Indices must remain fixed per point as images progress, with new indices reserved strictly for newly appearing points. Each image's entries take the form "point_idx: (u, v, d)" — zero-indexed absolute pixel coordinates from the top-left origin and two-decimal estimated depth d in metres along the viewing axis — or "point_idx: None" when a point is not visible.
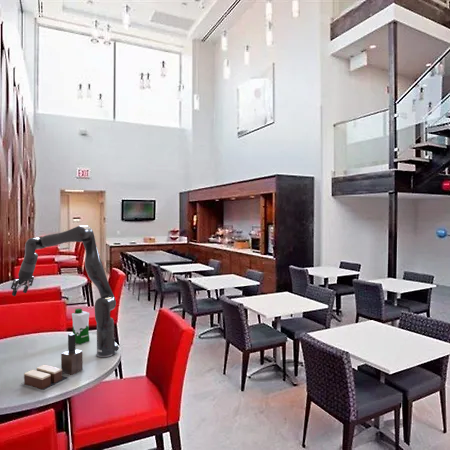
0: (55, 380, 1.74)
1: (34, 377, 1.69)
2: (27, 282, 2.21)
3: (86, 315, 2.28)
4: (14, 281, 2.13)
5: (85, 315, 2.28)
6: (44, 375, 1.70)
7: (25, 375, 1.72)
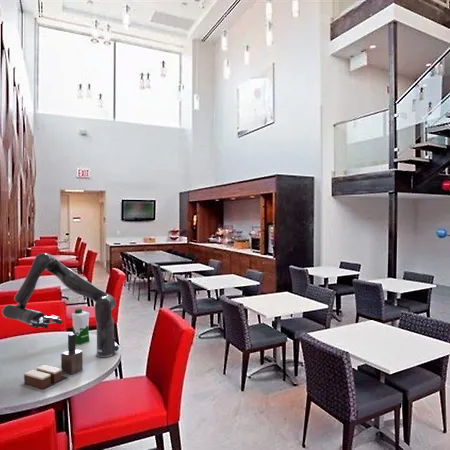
0: (55, 380, 1.74)
1: (34, 377, 1.69)
2: (46, 316, 1.95)
3: (86, 315, 2.28)
4: (30, 324, 1.88)
5: (85, 315, 2.28)
6: (44, 375, 1.70)
7: (25, 375, 1.72)
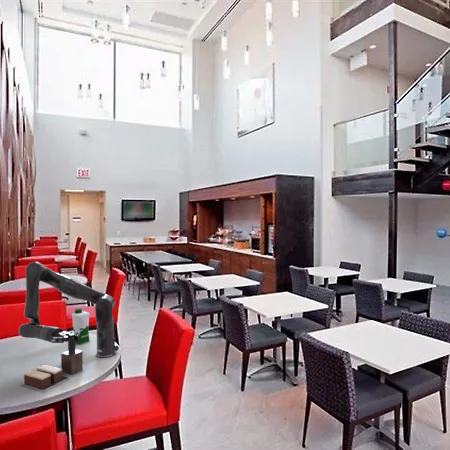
0: (55, 380, 1.74)
1: (34, 377, 1.69)
2: (63, 332, 1.89)
3: (86, 315, 2.28)
4: (53, 341, 1.82)
5: (85, 315, 2.28)
6: (44, 375, 1.70)
7: (25, 375, 1.72)
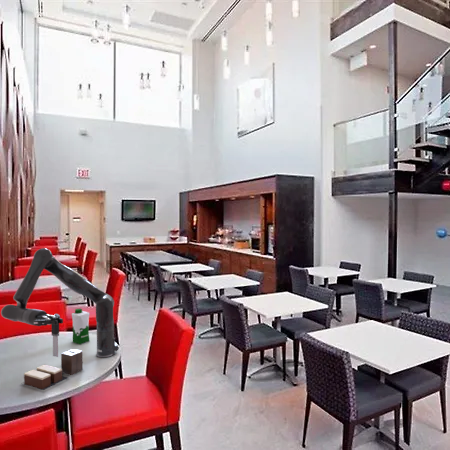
0: (55, 380, 1.74)
1: (34, 377, 1.69)
2: (47, 314, 1.80)
3: (86, 315, 2.28)
4: (35, 323, 1.73)
5: (85, 315, 2.28)
6: (44, 375, 1.70)
7: (25, 375, 1.72)
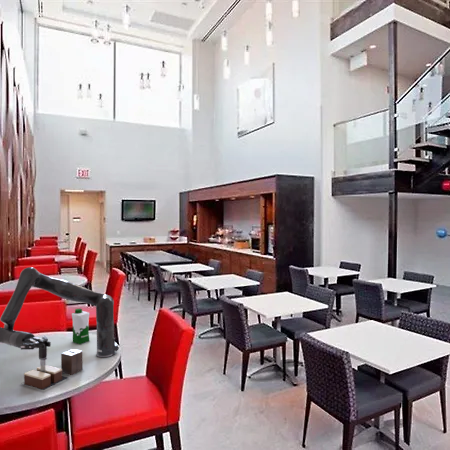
0: (55, 380, 1.74)
1: (34, 377, 1.69)
2: (34, 337, 1.77)
3: (86, 315, 2.28)
4: (22, 347, 1.71)
5: (85, 315, 2.28)
6: (44, 375, 1.70)
7: (25, 375, 1.72)
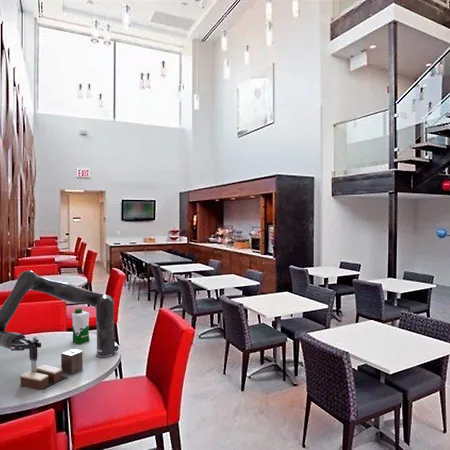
0: (55, 380, 1.74)
1: (31, 378, 1.68)
2: (25, 338, 1.76)
3: (86, 315, 2.28)
4: (12, 348, 1.69)
5: (85, 315, 2.28)
6: (42, 376, 1.68)
7: (21, 377, 1.70)
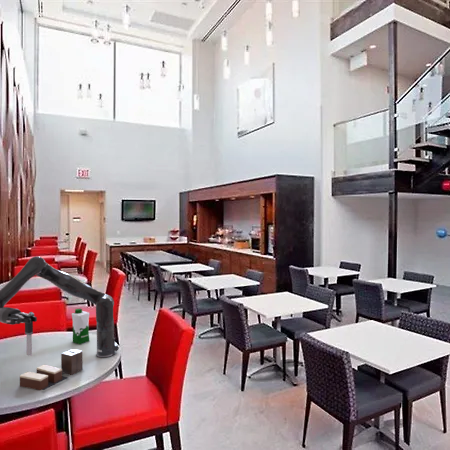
0: (55, 380, 1.74)
1: (31, 378, 1.67)
2: (21, 313, 1.77)
3: (86, 315, 2.28)
4: (8, 322, 1.71)
5: (85, 315, 2.28)
6: (42, 376, 1.68)
7: (21, 377, 1.69)
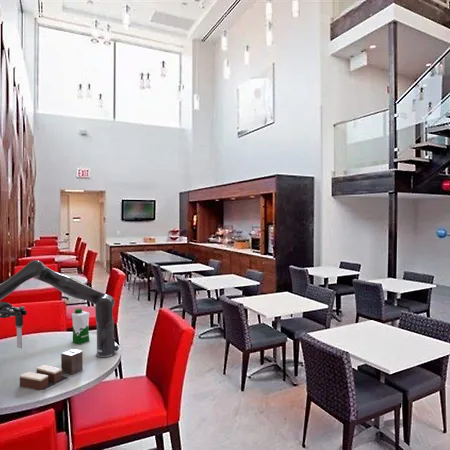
0: (55, 380, 1.74)
1: (31, 378, 1.67)
2: (11, 307, 1.82)
3: (86, 315, 2.28)
4: None
5: (85, 315, 2.28)
6: (42, 376, 1.68)
7: (21, 377, 1.69)
